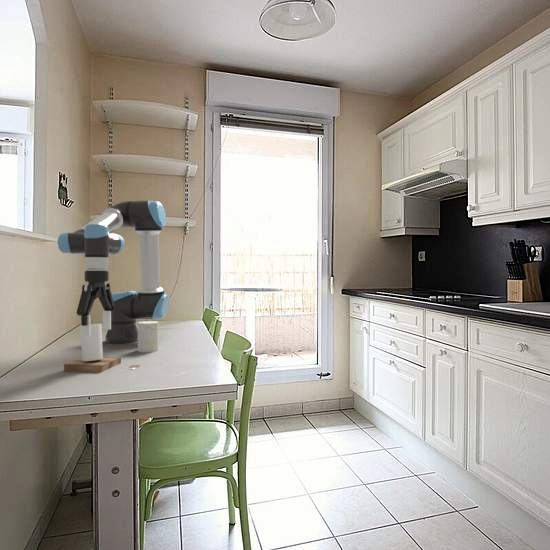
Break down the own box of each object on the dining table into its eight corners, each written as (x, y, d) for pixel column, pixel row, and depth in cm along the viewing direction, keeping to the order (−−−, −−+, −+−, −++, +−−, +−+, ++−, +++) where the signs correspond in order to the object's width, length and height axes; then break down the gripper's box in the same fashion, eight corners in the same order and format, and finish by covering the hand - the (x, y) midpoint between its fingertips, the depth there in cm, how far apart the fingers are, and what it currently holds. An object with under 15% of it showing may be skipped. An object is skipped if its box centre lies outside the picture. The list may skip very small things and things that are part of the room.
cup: (147, 354, 164) (147, 324, 164) (133, 352, 169) (133, 322, 168) (162, 351, 171) (162, 322, 171) (149, 349, 175) (149, 320, 175)
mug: (103, 359, 139) (101, 323, 140) (81, 362, 136) (79, 325, 137) (102, 357, 148) (100, 323, 149) (81, 360, 145) (79, 325, 146)
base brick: (86, 364, 148) (86, 356, 148) (120, 365, 147) (120, 357, 147) (64, 373, 135) (64, 364, 135) (101, 374, 134) (101, 365, 134)
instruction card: (127, 364, 145) (127, 363, 145) (147, 364, 146) (147, 363, 146) (118, 371, 135) (118, 370, 135) (140, 371, 136) (140, 370, 136)
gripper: (104, 269, 154) (104, 326, 154) (64, 270, 129) (64, 338, 129) (124, 269, 153) (124, 327, 153) (87, 270, 128) (87, 338, 129)
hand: (96, 332), depth 141 cm, fingers open, 13 cm apart
